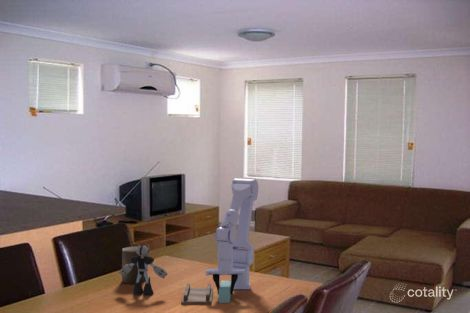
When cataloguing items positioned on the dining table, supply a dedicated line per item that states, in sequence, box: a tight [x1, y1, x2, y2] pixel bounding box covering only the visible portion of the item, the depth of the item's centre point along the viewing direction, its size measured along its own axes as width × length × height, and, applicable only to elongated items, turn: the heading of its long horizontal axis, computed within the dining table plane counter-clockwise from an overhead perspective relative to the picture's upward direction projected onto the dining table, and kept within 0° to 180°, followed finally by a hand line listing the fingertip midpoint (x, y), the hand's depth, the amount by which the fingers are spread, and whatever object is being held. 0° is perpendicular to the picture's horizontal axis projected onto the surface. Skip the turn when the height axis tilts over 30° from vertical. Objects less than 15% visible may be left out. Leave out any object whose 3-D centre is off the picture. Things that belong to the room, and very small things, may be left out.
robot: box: [119, 241, 168, 297], centre depth 195 cm, size 20×5×20 cm, turn 78°
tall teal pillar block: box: [218, 280, 232, 304], centre depth 191 cm, size 12×4×5 cm, turn 177°
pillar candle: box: [121, 245, 145, 285], centre depth 212 cm, size 10×10×15 cm
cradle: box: [180, 283, 214, 305], centre depth 191 cm, size 16×11×3 cm
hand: (225, 293), depth 191 cm, fingers closed on tall teal pillar block, 4 cm apart
